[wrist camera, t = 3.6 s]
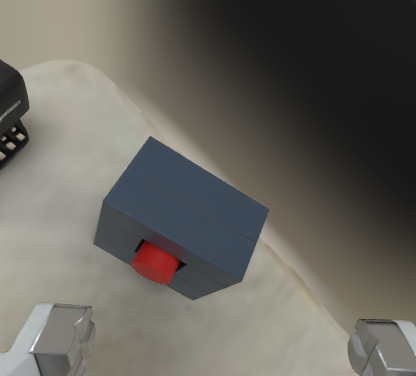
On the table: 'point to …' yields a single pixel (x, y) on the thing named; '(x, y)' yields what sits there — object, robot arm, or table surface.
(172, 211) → the control box
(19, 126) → the battery charger
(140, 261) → the button
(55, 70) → the table surface
